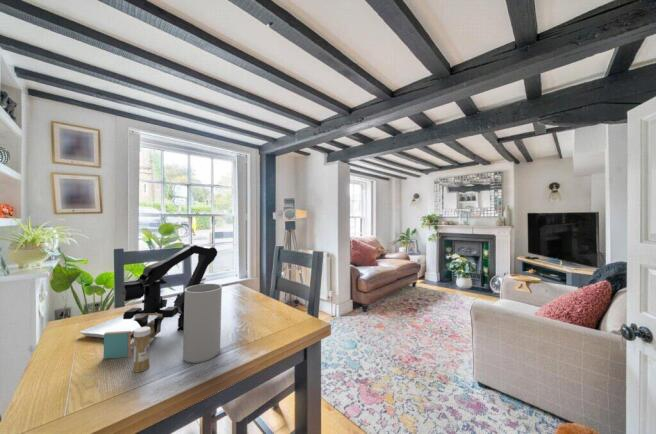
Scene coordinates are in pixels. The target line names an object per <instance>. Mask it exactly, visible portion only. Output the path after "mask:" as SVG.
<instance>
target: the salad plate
mask: <svg viewBox="0 0 656 434" xmlns="http://www.w3.org/2000/svg"><path fill="white" fill-rule="evenodd" d="M123 315H124V314H122V315H120V316H118V317H115V318H112V319H109V320H106V321H104V322H102V323H98V324H96V325H94V326H93V325H92V326H91V327H89V328H85V329H83V330H80V331H79V333H80V334H81V335H83V336H86V337H95V338H99V339H101V338H102V339H104V333H106V332H119V331H131V336H134V330H136V329H137V328H140V327H141V326H140V325H139V324H138V323H137V321H134V319H135V315H134V317H133V318H132V319H123ZM156 317H157V316H154V315H149V317H148V323H149V322H150V321H152V320H154V319H155V318H156Z"/></svg>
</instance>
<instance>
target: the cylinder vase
mask: <svg viewBox="0 0 656 434" xmlns="http://www.w3.org/2000/svg"><path fill="white" fill-rule="evenodd" d="M222 286H223V285H221V284H218V283H202V284H201V283H200V284H199V285H194V286H190V287H187V286H186V287H187V288H186V287H185V289H184V291H185V298H184V330H183V337H182V339H183V341H182V343H183V344H182V346H183V347H182V358H183V360H184V361H185V362H187V363H192V364H195V363H196V364H198V363H204V362H206V361H209V360H212V359H214V358H215V357H216V356H217V355H218V354H219V353H220V352H221V335H222V334H221V330H222V326H221V325H222V290H223V287H222Z"/></svg>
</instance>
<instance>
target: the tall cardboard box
mask: <svg viewBox="0 0 656 434" xmlns="http://www.w3.org/2000/svg"><path fill="white" fill-rule="evenodd" d="M143 327H150V328H151V333H150V344H151V343H153V341H155V340H154V339H155V338H154V337H156V336H157V335H158V334H159V333H160V332H161V331H162V328H161V327H162V324H161V325H160V327H159V329H158V332H157V333H155V325H154V320H152V321H150V322H149V323H147V324H146V325H145V326H143ZM130 348H134V341H133V342H130Z"/></svg>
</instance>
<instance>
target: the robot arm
mask: <svg viewBox="0 0 656 434" xmlns="http://www.w3.org/2000/svg"><path fill="white" fill-rule="evenodd" d="M194 254H197V255H198V256H197V264H196V266H195V268H194V270H193V273H192V275H191V276H190V278H189V281H188V283H187V285H186V287H185V289H186V288H187V287H190V286H194V285H200V284H201V282H202V280H203V277H204V276H205V273H206V271H207V269H208V266H210V264H212V262H214V261H215V259H216V257H217V255H218V249H217V248H216V247H213V246H199V245H197V244H188V245H187V246H186V247H184V248H182V249H181V250H179V251H177V252H176V253H173V255H171V256H169V257H167V258H165V259H164V260H161V261H158V262H155V263H152V264H149V265H147V266H145V267H144V269H143V271H142V273H141V274H140V276H139V277H138V279H136V282H131V283H123V284H122V287H121V290H120V292H119V297H120V300H121V302H122V303H125V302H130V301H135V300H139V299H141V298H143V299H142V300H141V303H142V304H143V308H142V307H132V308H130V309H127V310H126V311H124V313H123V314H122V315H123V319H132V318H133V317H134V315H135V319H134V321H137V323H138V324H139V325H140V326H141V327H143V326H145V325H146V324H147V323H148V317H149V316H154V315H157V316H155V317H156V318H155V319H154V325H155V333H157V332H158V329H159V327H160V325H161V326H162V322H163V321H164V319H165V318H173V317H175V315H177V314H179V316H178V318H177V331H184V298H185V290H184V291H183V292H182V293H178V294H177V295H176V298H175V300H174V301H173V306H168V307H167V302H168V299H163V296H162V295H161V291H162V285H164V284H167V281H165V280H164V279H163V277H164V276H166V274H168V272H169V271H170V270H171V269H172V268H173V267H176V265H179V264H180V263H182V262H183V261H185V260H186V259H188V258H190V257H191V256H193V255H194ZM163 308H164V309H163Z"/></svg>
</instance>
